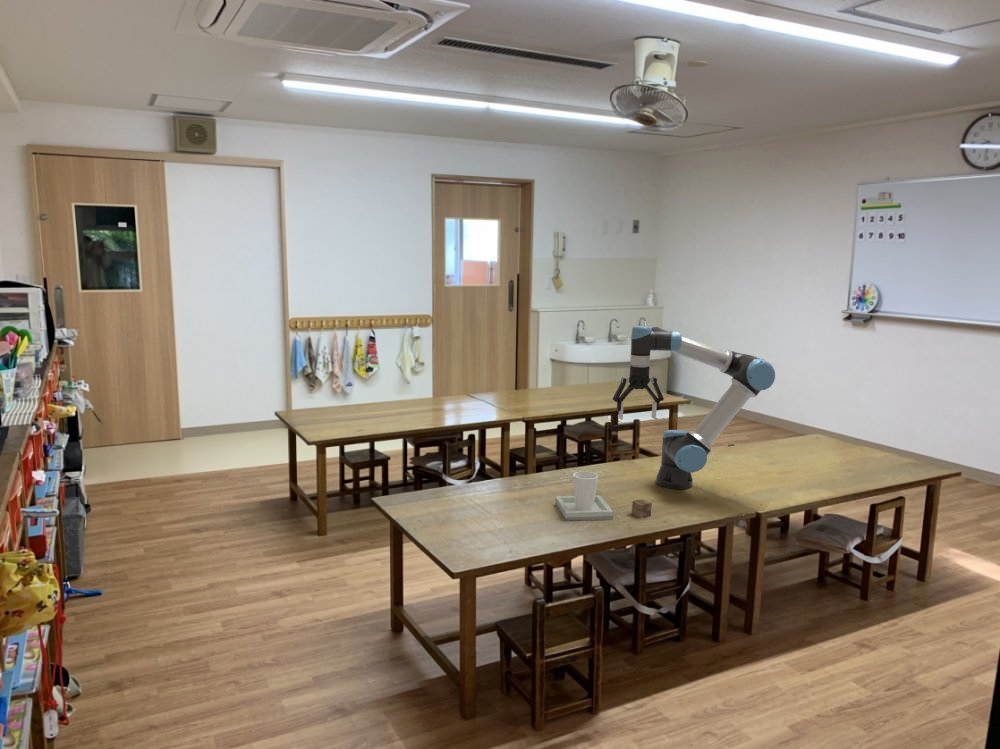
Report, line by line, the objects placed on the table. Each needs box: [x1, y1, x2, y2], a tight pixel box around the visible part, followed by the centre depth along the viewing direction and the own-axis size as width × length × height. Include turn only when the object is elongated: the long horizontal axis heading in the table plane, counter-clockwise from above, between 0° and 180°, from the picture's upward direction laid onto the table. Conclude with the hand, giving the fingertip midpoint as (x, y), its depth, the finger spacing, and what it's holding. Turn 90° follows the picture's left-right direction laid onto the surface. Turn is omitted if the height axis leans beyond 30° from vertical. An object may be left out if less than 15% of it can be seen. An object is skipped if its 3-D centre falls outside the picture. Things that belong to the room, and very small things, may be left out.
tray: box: [554, 494, 614, 522], centre depth 279 cm, size 18×18×3 cm
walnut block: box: [631, 498, 653, 519], centre depth 277 cm, size 5×5×5 cm
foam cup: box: [572, 470, 599, 511], centre depth 278 cm, size 10×9×13 cm
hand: (637, 418), depth 293 cm, fingers open, 13 cm apart
